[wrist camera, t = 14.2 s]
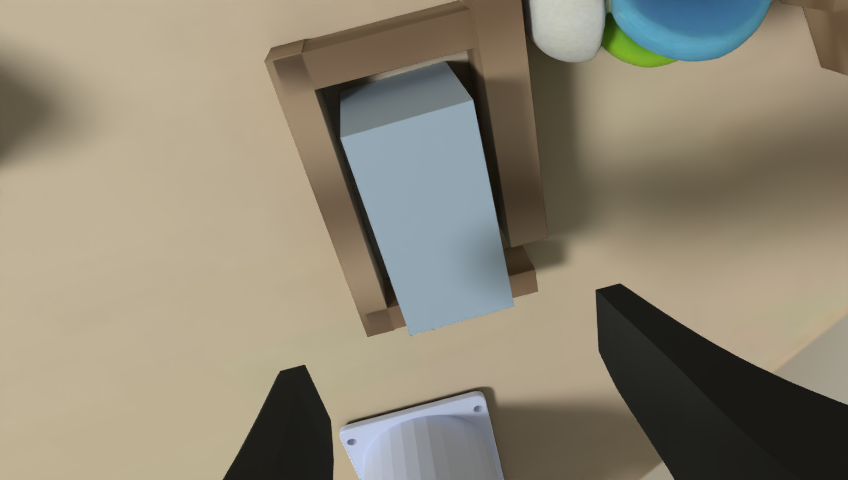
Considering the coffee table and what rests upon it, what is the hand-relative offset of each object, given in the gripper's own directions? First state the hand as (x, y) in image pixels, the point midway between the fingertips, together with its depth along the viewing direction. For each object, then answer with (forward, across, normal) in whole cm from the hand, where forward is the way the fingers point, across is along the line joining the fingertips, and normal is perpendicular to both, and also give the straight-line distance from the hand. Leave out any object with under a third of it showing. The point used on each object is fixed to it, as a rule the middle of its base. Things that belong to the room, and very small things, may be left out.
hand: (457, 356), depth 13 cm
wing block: (+10, 0, 0) cm, 11 cm away
